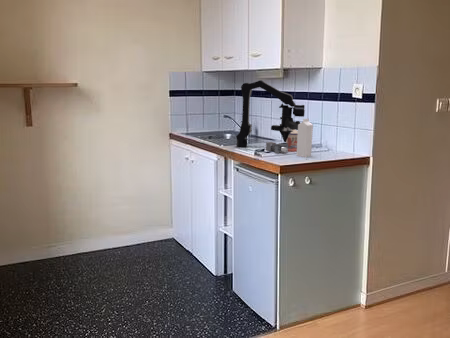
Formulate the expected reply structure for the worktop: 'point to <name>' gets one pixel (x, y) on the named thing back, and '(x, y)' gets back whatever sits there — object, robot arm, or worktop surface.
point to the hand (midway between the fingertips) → (284, 142)
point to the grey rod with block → (271, 147)
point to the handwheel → (290, 148)
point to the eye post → (277, 147)
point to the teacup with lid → (293, 137)
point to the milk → (304, 138)
